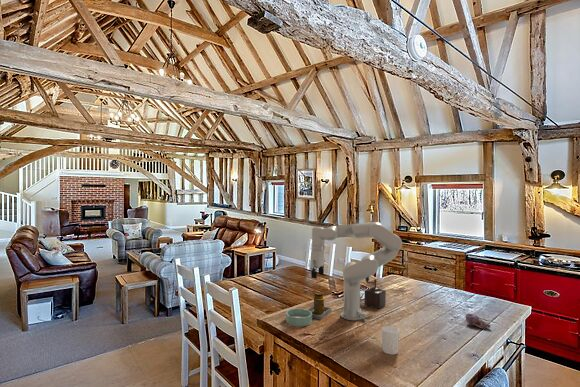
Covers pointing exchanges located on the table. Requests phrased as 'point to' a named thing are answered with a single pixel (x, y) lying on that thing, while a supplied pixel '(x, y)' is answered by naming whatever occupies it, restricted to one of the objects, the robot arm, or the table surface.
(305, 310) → the bowl
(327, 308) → the tray
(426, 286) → the table surface
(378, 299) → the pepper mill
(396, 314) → the table surface
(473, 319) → the grey-brown irregular lump
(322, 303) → the condiment
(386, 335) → the white cup
